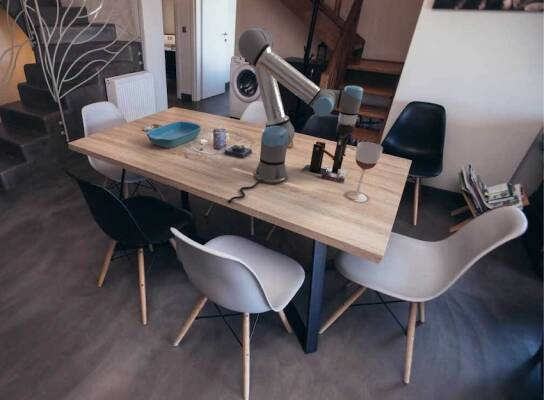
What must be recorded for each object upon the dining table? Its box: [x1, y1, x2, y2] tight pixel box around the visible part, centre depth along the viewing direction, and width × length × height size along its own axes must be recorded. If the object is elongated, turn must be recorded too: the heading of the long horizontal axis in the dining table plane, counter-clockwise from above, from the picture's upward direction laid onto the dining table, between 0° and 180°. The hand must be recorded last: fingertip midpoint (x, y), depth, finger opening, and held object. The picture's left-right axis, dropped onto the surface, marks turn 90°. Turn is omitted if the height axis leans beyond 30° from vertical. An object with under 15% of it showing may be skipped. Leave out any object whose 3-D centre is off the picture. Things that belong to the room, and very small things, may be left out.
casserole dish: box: [146, 120, 202, 149], centre depth 189 cm, size 37×22×7 cm, turn 146°
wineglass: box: [346, 141, 384, 203], centre depth 127 cm, size 9×10×23 cm
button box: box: [224, 144, 253, 159], centre depth 173 cm, size 10×12×4 cm
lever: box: [318, 143, 341, 160], centre depth 146 cm, size 13×6×2 cm, turn 59°
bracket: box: [301, 141, 328, 176], centre depth 150 cm, size 11×8×15 cm
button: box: [234, 142, 243, 148], centre depth 171 cm, size 4×4×2 cm
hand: (336, 170), depth 148 cm, fingers closed on lever, 5 cm apart
